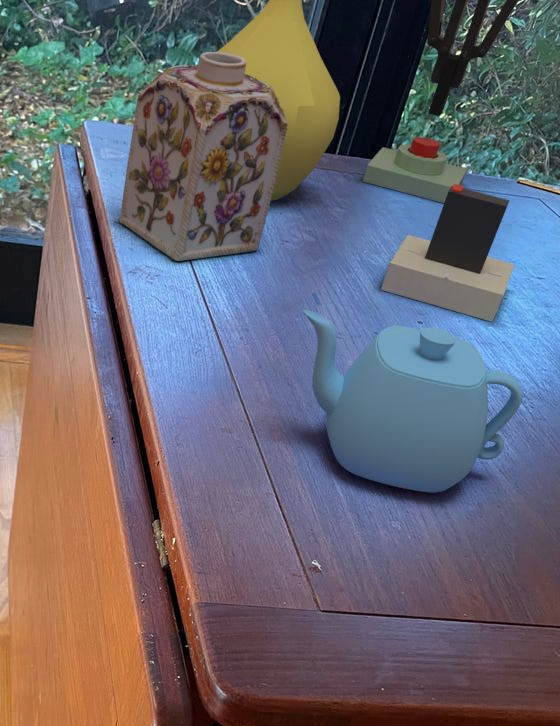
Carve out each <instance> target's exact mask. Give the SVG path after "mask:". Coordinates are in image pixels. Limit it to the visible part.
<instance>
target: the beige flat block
mask: <svg viewBox="0 0 560 726" xmlns="http://www.w3.org/2000/svg"><path fill="white" fill-rule="evenodd" d="M430 242H431V240H429V239H425V238H422V237H418V236H414V235H411V234H407V235H406V237H405V238H404V239H403V241H402V243H401V244H400V246H399V248H398V249H397V251H396V252H395V254H394V256H393V257H392V259H391V260H390V262H389V265H388V267H387V270H386V273H385V276H384V279H383V282H382V285H381V288H380V291H384V292H387V293H391V294H394V295H398V296H401V297H405V298H408V299H411V300H415V301H418V302H422V303H425V304H429V305H432V306H435V307H439V308H442V309H446V310H448V311H449V310H450V311H453V312H456V313H459V314H463V315H467V316H469V317H473V318H477V319H481V320H482V321H483V320H484V321H486V322H490V323H493V321H494V320H495V317H496V315H497V312H498V310H499V307H500V305H501V302H502V300H503V298H504V295H505V293H506V290H507V287H508V284H509V281H510V279H511V276H512V273H513V271H514V267H515V265H516V264H515V263H514V262H513V263H512V262H510V261H505V260H502V259H498V258H495V257H490V256H487V258H486V261H485V263H484V266H483V268H482V271H481V273H476V272H473V271H469V270H465V269H462V268H458V267H455V266H451V265H448V264H444V263H440V262H437V261H433V260H430V259H426V258H425V256H426V253H427V250H428V247H429V244H430Z"/></svg>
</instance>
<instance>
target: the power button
mask: <svg viewBox="0 0 560 726" xmlns="http://www.w3.org/2000/svg"><path fill="white" fill-rule="evenodd" d="M410 144H411V147H410V150H409V152H410V153H412V154H414V155H417V156H421V157H424V158H436V155H437V152H438V151H439V150H440V146H441V143H440V142H439V141H438V140H435V139H433V138H429V137H425V136H415V137H413V138H412V140H411V143H410Z"/></svg>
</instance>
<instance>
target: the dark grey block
mask: <svg viewBox="0 0 560 726" xmlns="http://www.w3.org/2000/svg"><path fill="white" fill-rule="evenodd" d="M509 203H510V200H509V199H505V198H502V197H498V196H495V195H490V194H487V193H482V192H479V191H475V190H471V189H468V188H465V187H464V185H462V186H461V185H457V184H454V186H451V188H450V190H449V191H448V194H447V197H446V200H445V203H443V205H442V208H441V211H440V214H439V216H438V220H437V222H436V225H435V228H434V230H433V233H432V236H431V239H430V241H431V242H430V244H429V247H428V250H427V253H426V256H425V258H426V259H430V260H433V261H437V262H440V263H444V264H448V265H451V266H455V267H458V268H462V269H465V270H469V271H473V272H476V273H481V271H482V268H483V266H484V263H485V261H486V258H487V257H489V253H490V251H491V248H492V246H493V243H494V240H495V238H496V236H497V234H498V231H499V228H500V227H501V226H500V225H501V224H502V221H503V218H504V216H505V214H506V211H507V209H508V206H509Z"/></svg>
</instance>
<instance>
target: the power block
mask: <svg viewBox="0 0 560 726" xmlns="http://www.w3.org/2000/svg"><path fill="white" fill-rule="evenodd" d="M411 144H412V143H408V144H400V146H399V147H398V148H397V149H396V150H395V149H393V148H387V147H381V149H380V150H379V151H378V152H377V153H376V154H375V156H373V158H372V159H371V160H370V161H369V163H367V165H366V168H365V171H364V175H363V178H362V183H366V184H369V185H374V186H377V187H381V188H385V189H388V190H392V191H396V192H400V193H404V194H408V195H411V196H415V197H418V198H423V199H427V200H430V201H434V202H438V203H441V204H444V203H445V200H446V197H447V194H448V191H449V190H450V188H451V186H454V184H457V185H461V186H463V183H464V180H465V178H466V176H467V172H468V168H466V167H462V166H458V165H455V164H451V163H447V161H448V156H447V155H446V154H445V153H444V152H443V151H440V150H438V152H437V155H436V158H424V157H421V156H417V155H414V154H412V153H410V152H409V150H410V147H411Z"/></svg>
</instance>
